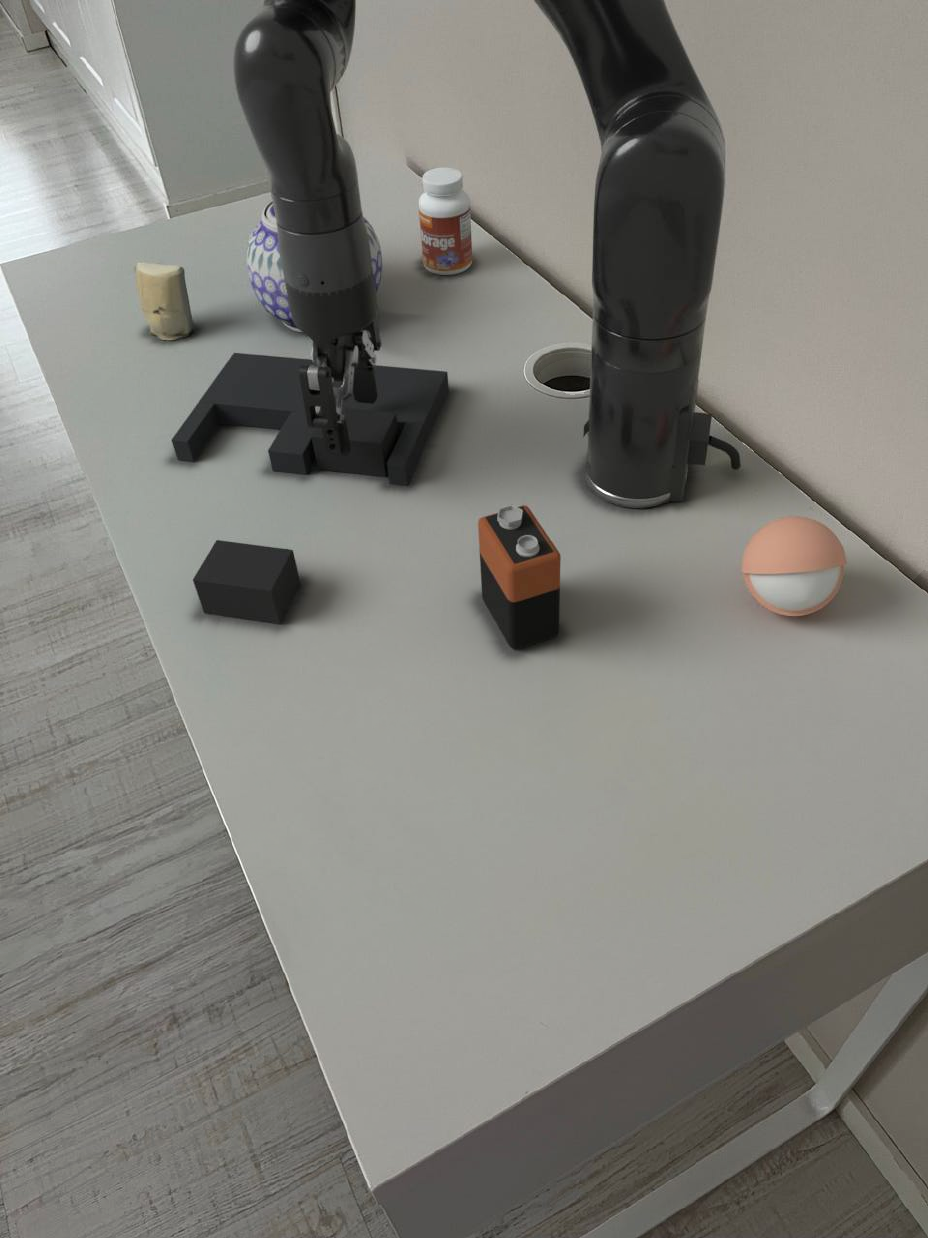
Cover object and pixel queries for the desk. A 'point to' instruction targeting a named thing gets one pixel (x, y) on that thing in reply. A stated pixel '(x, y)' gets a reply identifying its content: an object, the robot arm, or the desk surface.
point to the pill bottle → (445, 222)
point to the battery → (519, 575)
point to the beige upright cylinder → (164, 300)
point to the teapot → (269, 268)
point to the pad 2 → (361, 444)
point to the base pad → (275, 401)
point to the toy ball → (793, 565)
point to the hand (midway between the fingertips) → (353, 425)
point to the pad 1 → (247, 581)
